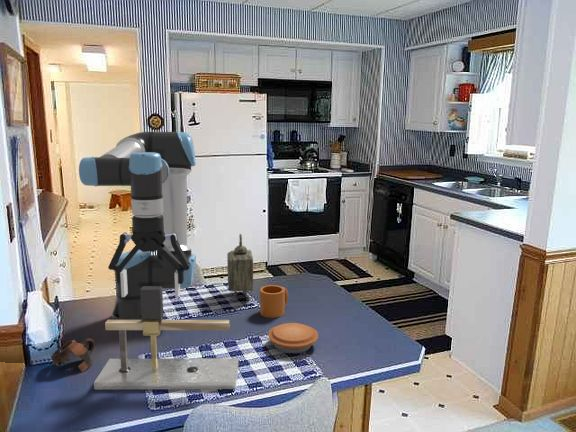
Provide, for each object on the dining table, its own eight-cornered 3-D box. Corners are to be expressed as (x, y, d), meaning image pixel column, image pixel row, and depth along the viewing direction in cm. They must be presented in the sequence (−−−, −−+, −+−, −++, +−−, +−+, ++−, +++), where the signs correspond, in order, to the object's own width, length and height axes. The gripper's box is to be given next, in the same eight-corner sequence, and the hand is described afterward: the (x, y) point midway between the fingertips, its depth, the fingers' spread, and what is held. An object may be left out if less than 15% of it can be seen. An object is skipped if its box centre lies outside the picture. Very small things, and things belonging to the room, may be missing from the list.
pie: (260, 351, 140) (260, 336, 139) (278, 330, 154) (278, 316, 153) (308, 361, 135) (309, 345, 133) (323, 338, 149) (324, 324, 148)
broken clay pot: (76, 380, 124) (58, 356, 122) (58, 384, 129) (40, 361, 127) (108, 350, 133) (91, 327, 132) (90, 355, 139) (74, 333, 137)
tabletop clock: (253, 302, 176) (253, 239, 171) (229, 303, 175) (228, 239, 170) (249, 289, 190) (249, 229, 185) (227, 289, 189) (227, 230, 184)
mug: (296, 312, 168) (297, 289, 166) (267, 320, 162) (268, 296, 160) (283, 303, 175) (283, 281, 173) (255, 310, 169) (255, 287, 167)
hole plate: (110, 365, 130) (109, 358, 130) (238, 364, 132) (238, 358, 131) (94, 389, 119) (93, 382, 118) (235, 388, 120) (235, 381, 120)
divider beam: (110, 368, 125) (107, 319, 122) (229, 367, 126) (229, 319, 124) (108, 371, 123) (105, 322, 120) (229, 371, 125) (228, 323, 122)
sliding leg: (147, 363, 127) (143, 284, 122) (166, 363, 127) (162, 284, 122) (143, 372, 122) (138, 291, 118) (162, 372, 122) (158, 291, 118)
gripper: (91, 217, 112) (97, 300, 116) (195, 218, 113) (197, 300, 117) (102, 211, 119) (107, 289, 123) (200, 212, 120) (201, 290, 124)
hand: (151, 295), depth 120 cm, fingers open, 13 cm apart
